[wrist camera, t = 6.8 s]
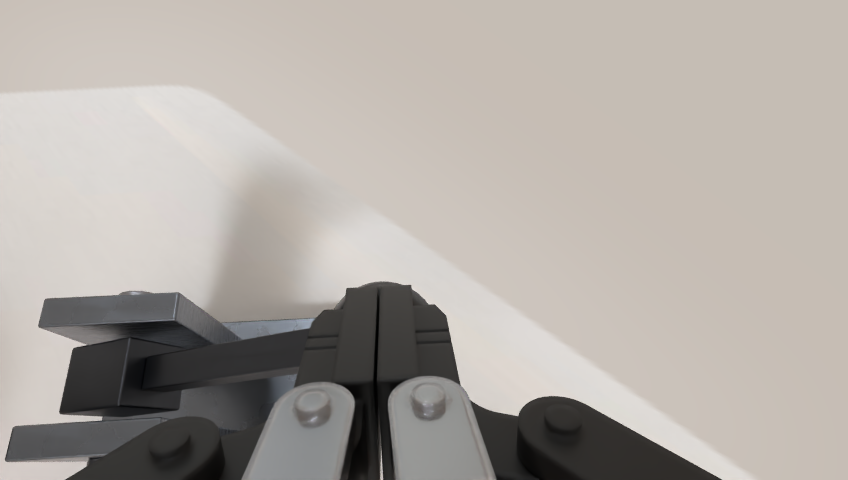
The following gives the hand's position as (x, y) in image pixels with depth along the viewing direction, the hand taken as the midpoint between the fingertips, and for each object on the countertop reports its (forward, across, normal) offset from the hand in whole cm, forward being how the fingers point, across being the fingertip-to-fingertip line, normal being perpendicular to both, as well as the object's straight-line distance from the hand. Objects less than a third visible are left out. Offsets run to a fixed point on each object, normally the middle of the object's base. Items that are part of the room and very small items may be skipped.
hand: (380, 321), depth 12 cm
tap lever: (+4, +4, +4) cm, 7 cm away
